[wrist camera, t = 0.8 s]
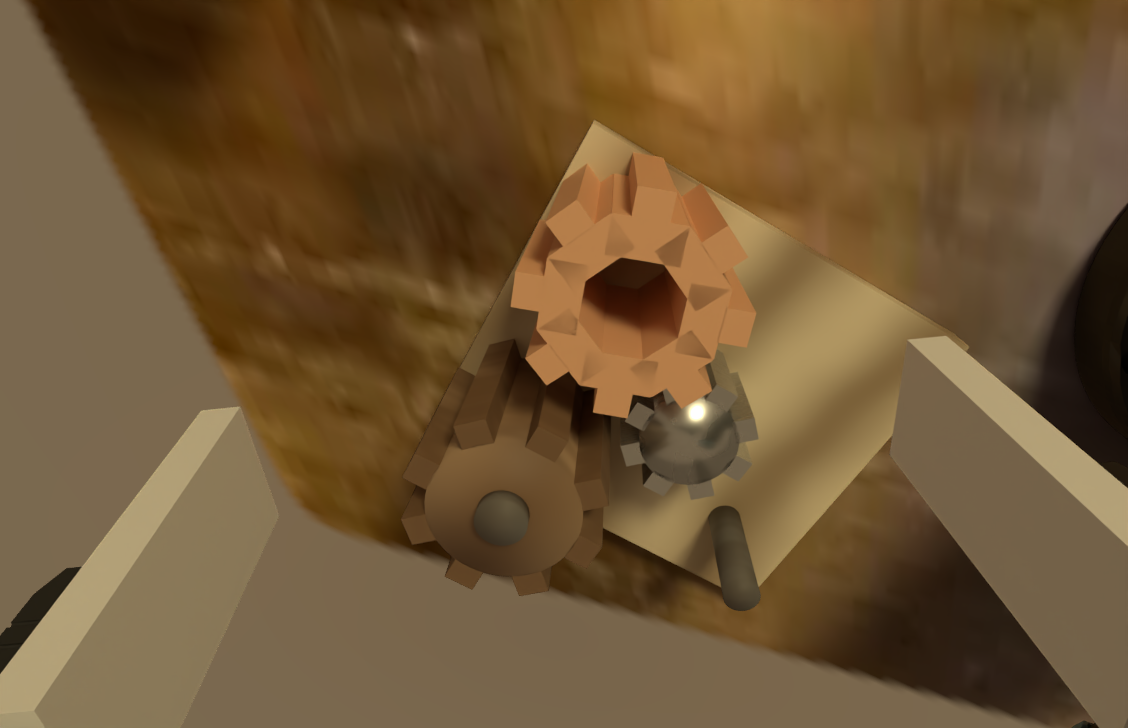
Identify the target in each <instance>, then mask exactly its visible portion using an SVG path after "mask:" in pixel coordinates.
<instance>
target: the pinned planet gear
mask: <svg viewBox="0 0 1128 728" xmlns="http://www.w3.org/2000/svg"><path fill="white" fill-rule="evenodd" d="M594 391H595V389H592V390H587V391H583V390H582V388H581V387H580V385H579V384H578V383H577V381H576V380H575V379H574V378H573V376H572V375H571V374H570V372H567V373H565V374H564V375H562V376H561V377H559V378H558V379H556V380H554V381H553V382H551V383H550V384H548V385H546V384H545V383H544V382H543V380H542V379H541V378H540V377H539V375H538V374H537V373H536V372H535V370H534V369H533V368H532V366H531V365H530V364H529V363H528V361H527V360H526V359H525V358H521V356H520V353H519V350H518V347H517V344H516V341H515V338H514V339H510V340H506V341H502V342H498V343H494V344H490V345H489V346H488V349H487V351H486V353H485V355H484V358H483V360H482V362H481V365H480V367H479V369H478V371H477V374H476V376H475V375H473V374H471V373H469V372H467V371H465V370H463V369H461V368H458V370H457V372H456V373H455V375H454V377H453V379H452V381H451V383H450V384H449V386H448V388H447V390H446V392H445V394H444V396H443V398H442V400H441V402H440V404H439V406H438V408H437V410H436V412H435V414H434V416H433V418H432V420H431V422H430V424H429V426H428V427H427V429H426V431H425V433H424V435H423V437H422V439H421V441H420V443H419V445H418V447H417V449H416V451H415V453H414V455H413V457H412V459H411V461H410V463H409V465H408V467H407V469H406V471H405V473H404V475H403V477H402V478H403V479H405V480H407V481H409V482H411V483H413V484H415V485H417V486H416V488H415V490H414V492H413V495H412V497H411V499H410V501H409V503H408V505H407V507H406V510H405V512H404V514H403V516H402V518H401V521H402V523H403V525H404V528H405V530H406V532H407V534H408V536H409V539H410V541H411V543H412V545H414V544H419V543H424V542H429V541H434V540H437V542H438V543H439V544H440V545H441V546H442V548H443V549H444V550H445V551H446V552H447V553H449V554H450V555H451V559H450V562H449V565H448V568H447V571H446V574H445V577H447V578H449V579H451V580H453V581H455V582H457V583H459V584H461V585H463V586H465V587H468V588H470V589H473V587H474V586H475V584H476V583H477V582H478V580H479V578H480V577H481V575H482V574H483V573H487V574H492V575H497V576H512V579H513V582H514V584H515V587H516V589H517V592H518V594H519V596H523V595H529V594H534V593H540V592H545V591H549V583H550V576H551V568H552V566H553V565H554V564H556V563H557V562H559V561H560V560H561V559H562V558H563V557H564V558H565V559H567V560H569V561H572V562H574V563H576V564H578V565H580V566H582V567H584V568H586V569H587V567H588V566H589V564H590V563H591V562H592V560H593V559H594V558H595V556H596V555H597V554H598V552H599V551H600V549H601V548H602V539H603V510H604V507H606V506H609V487H610V441H611V415H605V414H599V413H593V405H594Z"/></svg>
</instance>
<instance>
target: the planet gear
mask: <svg viewBox="0 0 1128 728" xmlns="http://www.w3.org/2000/svg"><path fill="white" fill-rule="evenodd" d="M621 257H623V258H628V259H634V260H640V261H646V262H651V263H657V264H663V265H665V271H664V272H663V273H661V274H660V275H658V276H657V277H655V278H654V279H652V280H651V281H649V282H648V283H646V284H645V285H643V286H641V287H640V288H638V289H634V288H628V287H622V286H616V285H611V284H606V283H605V282H604V280H603V279H602V277H601V276H600V275H599V273H598V272H600V271H601V270H603V269H604V268H606V267H607V266H609V265H610V264H612V263H613V262H615V261H616V260H618V259H619V258H621ZM747 258H748V256H747V254H746V253H745V251H744V249H743V248H742V246H741V245H740V243H739V241H738V240H737V238H736V237H735V235H734V233H733V232H732V230H731V229H730V227H729V225H728V224H727V222H726V221H725V219H724V218H723V216H722V214H721V213H720V211H719V210H718V208H717V206H716V205H715V203H714V202H713V200H712V199H711V197H710V195H709V194H708V192H707V191H706V189H705V188H704V186H703V185H702V183H701V184H699V185H698V186H696V187H695V188H693V189H692V190H690V191H689V192H687V193H686V194H684V195H683V196H681V195H680V193H679V192H678V190H677V189H676V187H675V186H674V183H673V181H672V178H671V176H670V173H669V171H668V169H667V166H666V164H665V161H664V159H663V157H657V156H651V155H646V154H640V153H634V152H633V155H632V160H631V165H630V171H629V176H626V175H620V174H614V175H613V174H612V175H610V176H609V177H607V178H606V179H605V180H603V181H602V182H600V181H599V179H598V178H597V177H596V175H595V174H594V172H593V171H592V169H591V168H590V166H589V165H588V163H587V164H585V165H584V166H583V167H581V168H580V169H579V170H577V171H576V172H575V173H573V174H572V175H570V176H569V177H568V178H566V179H565V180H564V181H563V182H562V185H561V187H560V189H559V192H558V194H557V196H556V198H555V201H554V203H553V205H552V208H551V210H550V212H549V215H548V217H547V219H546V221H545V220H539V222H538V224H537V227H536V229H535V231H534V233H533V235H532V237H531V239H530V241H529V244H528V246H527V248H526V250H525V252H524V254H523V256H522V258H521V261H520V263H519V265H518V267H517V269H516V271H515V278H514V285H513V293H512V300H511V307H514V308H520V309H526V310H532V311H537V312H539V314H538V318H537V321H536V325H535V328H534V331H533V335H532V338H531V341H530V344H529V348H528V351H527V354H526V357H525V359H526V360H527V361H528V363H529V364H530V365H531V366H532V368H533V369H534V370H535V372H536V373H537V374H538V375H539V377H540V378H541V379H542V380H543V382H544V383H545V384H546V385H548V384H550V383H551V382H553V381H554V380H556V379H558V378H559V377H561V376H562V375H564V374H565V373H567V372H570V374H571V375H572V376H573V378H574V379H575V380H576V381H577V383H578V384H579V385H581V386H587V387H592V388H595V391H594V405H593V413H599V414H605V415H611V416H616V417H622V418H628V414H629V409H630V405H631V400H632V396H633V395H639V396H644V397H653V396H655V395H656V394H658V393H660V392H661V391H663V390H665V389H666V388H667V390H668V391H669V392H670V394H671V395H672V396H673V398H674V399H675V401H676V402H677V403H678V405H679V406H680V407H681V409H682V408H684V407H686V406H687V405H689V404H691V403H692V402H694V401H696V400H698V399H699V398H701V397H703V396H704V395H706V394H708V393H710V392H711V391H712V388H711V384H710V381H709V377H708V373H707V370H706V366H705V365H706V364H708V363H710V362H711V361H713V359H714V357H715V354H716V350H717V346H718V343H722V344H728V345H734V346H740V347H746V348H747V345H748V341H749V338H750V334H751V331H752V327H753V324H754V320H755V317H756V311H755V309H754V307H753V306H752V304H751V302H750V300H749V298H748V296H747V294H746V292H745V290H744V288H743V287H742V285H741V283H740V281H739V279H738V277H737V275H736V273H735V271H734V269H733V267H734V266H736V265H737V264H739V263H740V262H742V261H743V260H745V259H747Z"/></svg>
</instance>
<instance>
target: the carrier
mask: <svg viewBox="0 0 1128 728" xmlns="http://www.w3.org/2000/svg"><path fill="white" fill-rule="evenodd" d="M633 152H634V153H640V154H646V155H651V156H654V155H653V154H651V153H649V152H648V151H646V150H644V149H643V148H641V147H639V146H638V145H636V144H634V143H632V142H631V141H629V140H627V139H626V138H624V137H622V136H621V135H619V134H617V133H616V132H614V131H612V130H611V129H609V128H607V127H606V126H604V125H602V124H600V123H599V122H597V121H595V120H594V121H593V123H592V125H591V126H590V128H589V130H588V132H587V134H586V136H585V137H584V139H583V141H582V143H581V145H580V147H579V148H578V150H577V152H576V154H575V156H574V158H573V160H572V161H571V163H570V165H569V167H568V169H567V171H566V172H565V174H564V176H563V178H562V180H561V182H560V183H559V185H558V187H557V189H556V191H555V193H554V194H553V196H552V198H551V200H550V202H549V204H548V206H547V207H546V209H545V211H544V213H543V215H542V217H541V218H540V220H545V221H546V219H547V217H548V215H549V212H550V210H551V208H552V205H553V203H554V201H555V198H556V196H557V194H558V192H559V189H560V187H561V185H562V182H563V181H564V180H565V179H566V178H568V177H569V176H570V175H572V174H573V173H575V172H576V171H577V170H579V169H580V168H581V167H583V166H584V165H585V164H587V163H588V165H589V166H590V168H591V169H592V171H593V172H594V174H595V175H596V177H597V178H598V179H599V181H600V182H602V181H603V180H605V179H606V178H607V177H609V176H610V175H612V174H613V175H614V174H620V175H626V176H629V171H630V165H631V160H632V155H633ZM665 164H666V166H667V169H668V171H669V173H670V176H671V178H672V181H673V183H674V186H675V187H676V189H677V190H678V192H679V193H680V195H681V196H683V195H684V194H686V193H687V192H689V191H690V190H692V189H693V188H695V187H696V186H698V185H699V184H701V183H700V182H698V181H696V180H695V179H693V178H691V177H690V176H688V175H686V174H685V173H683V172H681V171H680V170H678V169H676V168H675V167H673V166H671V165H669V164H668V163H666V162H665ZM702 185H703V184H702ZM703 186H704V188H705V189H706V191H707V192H708V194H709V195H710V197H711V199H712V200H713V202H714V203H715V205H716V206H717V208H718V210H719V211H720V213H721V214H722V216H723V218H724V219H725V221H726V222H727V224H728V225H729V227H730V229H731V230H732V232H733V233H734V235H735V237H736V238H737V240H738V241H739V243H740V245H741V246H742V248H743V249H744V251H745V253H746V254H747V256H748V258H747V259H745V260H743V261H742V262H740V263H739V264H737V265H736V266H734V267H733V269H734V271H735V273H736V275H737V277H738V279H739V281H740V283H741V285H742V287H743V288H744V290H745V292H746V294H747V296H748V298H749V300H750V302H751V304H752V306H753V307H754V309H755V311H756V317H755V320H754V324H753V327H752V331H751V334H750V338H749V341H748V345H747V348H746V347H740V346H734V345H728V344H722V343H718V346H717V350H719V351H721V352H723V354H724V357H725V360H726V363H727V366H728V369H729V371H730V373H733V372H738V374H739V377H740V380H741V383H742V385H743V388H744V391H745V393H746V396H747V399H748V402H749V404H750V407H751V410H752V412H753V415H754V418H755V423H756V427H757V432H758V437H759V439H758V440H753V441H748V442H746V445H747V448H748V451H749V454H750V458H751V461H752V465H751V466H750V468H749V469H748V470H747V471H746V473H745V474H744V475H743V477H742V478H741V479H740V480H739V482H738V481H736V480H734V479H732V478H730V477H729V476H727V475H725V474H723V473H722V474H720V475H719V476H717V477H716V478H714V479H712V480H711V481H712V486H713V490H714V495H715V496H710V497H705V498H700V499H695V500H691V499H690V495H689V491H688V487H687V485H684V484H676V483H673V484H672V486H671V487H670V488H669V490H668V491H667V492H666V494H665V495H664V496H662V495H660V494H658V493H656V492H654V491H652V490H650V489H648V488H646V487H644V486H643V476H642V464H637V465H632V466H627V467H626V463H625V460H624V457H623V453H622V450H621V446H620V417H616V416H611V441H610V487H609V506H606V507H604V510H603V528H604V529H606V530H608V531H610V532H612V533H614V534H616V535H618V536H620V537H622V538H624V539H626V540H628V541H630V542H632V543H634V544H636V545H638V546H640V547H642V548H644V549H646V550H648V551H650V552H652V553H654V554H656V555H658V556H660V557H662V558H664V559H666V560H668V561H670V562H672V563H674V564H676V565H678V566H680V567H682V568H684V569H686V570H688V571H690V572H692V573H694V574H696V575H697V576H699V577H701V578H703V579H705V580H707V581H709V582H711V583H713V584H715V585H717V586H719V587H721V589H722V594H723V599H724V602H725V604H726V605H727V606H728V607H729V608H731V609H733V610H737V611H745V610H749V609H751V608H753V607H755V606H756V605H757V604H758V602H759V601H760V591H759V586H760V585H761V584H762V583H763V582H764V580H765V579H766V578H767V577H768V576H769V575H770V574H771V572H772V571H773V570H774V569H775V568H776V567H777V566H778V564H779V563H780V562H781V561H782V560H783V559H784V558H785V557H786V555H787V554H788V553H789V552H790V551H791V550H792V549H793V547H794V546H795V545H796V544H797V543H798V542H799V541H800V539H801V538H802V537H803V536H804V535H805V534H806V533H807V531H808V530H809V529H810V528H811V527H812V526H813V525H814V524H815V522H816V521H817V520H818V519H819V518H820V517H821V516H822V514H823V513H824V512H825V511H826V510H827V509H828V508H829V506H830V505H831V504H832V503H833V502H834V501H835V500H836V498H837V497H838V496H839V495H840V494H841V493H842V492H843V491H844V489H845V488H846V487H847V486H848V485H849V484H850V483H851V481H852V480H853V479H854V478H855V477H856V476H857V475H858V473H859V472H860V471H861V470H862V469H863V468H864V467H865V465H866V464H867V463H868V462H869V461H870V460H871V459H872V458H873V456H874V455H875V454H876V453H877V452H878V451H879V450H880V448H881V447H882V446H883V445H884V444H885V443H886V442H887V440H888V439H889V438H890V437H891V436H892V435H893V429H894V423H895V416H896V410H897V403H898V397H899V390H900V384H901V377H902V371H903V364H904V358H905V351H906V345H907V340H909V339H919V338H929V337H939V336H947V337H948V338H950V339H951V340H952V341H953V342H954V343H955V344H957V345H958V346H959V347H960V348H961V349H963V350H964V351H965V352H966V351H967V349H968V348H969V346H968V345H967V344H966V343H964V342H963V341H962V340H961V339H960V338H958V337H957V336H956V335H955V334H954V333H952V332H950V331H949V330H947V329H945V328H944V327H942V326H940V325H939V324H937V323H935V322H934V321H932V320H930V319H929V318H927V317H925V316H924V315H922V314H920V313H918V312H917V311H915V310H913V309H912V308H910V307H908V306H907V305H905V304H903V303H902V302H900V301H898V300H897V299H895V298H893V297H892V296H890V295H888V294H887V293H885V292H883V291H881V290H880V289H878V288H876V287H875V286H873V285H871V284H870V283H868V282H866V281H865V280H863V279H861V278H860V277H858V276H856V275H855V274H853V273H851V272H850V271H848V270H846V269H844V268H843V267H841V266H839V265H838V264H836V263H834V262H833V261H831V260H829V259H828V258H826V257H824V256H823V255H821V254H819V253H818V252H816V251H814V250H812V249H811V248H809V247H807V246H806V245H804V244H802V243H801V242H799V241H797V240H796V239H794V238H792V237H791V236H789V235H787V234H786V233H784V232H782V231H781V230H779V229H777V228H775V227H774V226H772V225H770V224H769V223H767V222H765V221H764V220H762V219H760V218H759V217H757V216H755V215H754V214H752V213H750V212H749V211H747V210H745V209H744V208H742V207H740V206H738V205H737V204H735V203H733V202H732V201H730V200H728V199H727V198H725V197H723V196H722V195H720V194H718V193H717V192H715V191H713V190H712V189H710V188H708V187H706V186H705V185H703ZM536 227H537V226H536ZM535 229H536V228H535ZM535 229H534V231H535ZM534 231H533V233H534ZM533 233H532V235H533ZM532 235H531V237H532ZM531 237H530V239H531ZM530 239H529V241H530ZM529 241H528V242H527V244H526V246H525V248H524V250H523V252H522V253H521V255H520V257H519V259H518V261H517V263H516V264H515V266H514V268H513V270H512V272H511V274H510V275H509V277H508V279H507V281H506V283H505V285H504V287H503V288H502V290H501V292H500V294H499V296H498V298H497V299H496V301H495V303H494V305H493V307H492V309H491V310H490V312H489V314H488V316H487V318H486V320H485V322H484V323H483V325H482V327H481V329H480V331H479V333H478V334H477V336H476V338H475V340H474V342H473V344H472V345H471V347H470V349H469V351H468V353H467V355H466V356H465V358H464V360H463V362H462V364H461V366H460V368H461V369H463V370H465V371H467V372H469V373H471V374H473V375H475V376H476V374H477V371H478V369H479V367H480V365H481V362H482V360H483V358H484V355H485V353H486V351H487V349H488V346H489V345H490V344H494V343H498V342H502V341H506V340H510V339H514V338H515V341H516V344H517V347H518V350H519V353H520V356H521V358H525V357H526V354H527V351H528V348H529V344H530V341H531V338H532V335H533V331H534V328H535V325H536V321H537V318H538V314H539V312H537V311H532V310H526V309H520V308H514V307H511V300H512V293H513V285H514V278H515V271H516V269H517V267H518V265H519V263H520V261H521V258H522V256H523V254H524V252H525V250H526V248H527V246H528V244H529ZM664 271H665V265H663V264H657V263H651V262H646V261H640V260H634V259H628V258H623V257H621V258H619V259H618V260H616V261H615V262H613V263H612V264H610V265H609V266H607V267H606V268H604V269H603V270H601V271H600V272H598V273H599V275H600V276H601V277H602V279H603V280H604V282H605V283H606V284H611V285H616V286H622V287H628V288H634V289H638V288H640V287H641V286H643V285H645V284H646V283H648V282H649V281H651V280H652V279H654V278H655V277H657V276H658V275H660V274H661V273H663V272H664ZM580 387H581V388H582V390H583V391H587V390H592V389H595V388H592V387H587V386H581V385H580ZM433 416H434V415H433ZM432 418H433V417H432ZM431 420H432V419H431ZM430 422H431V421H430ZM429 424H430V423H429ZM428 426H429V425H428Z"/></svg>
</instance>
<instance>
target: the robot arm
mask: <svg viewBox="0 0 1128 728" xmlns="http://www.w3.org/2000/svg"><path fill="white" fill-rule="evenodd" d="M1074 338H1075V355H1076V362H1077V367H1078V371H1079V375H1080V378H1081V381H1082V384H1083V386H1084V388H1085V391H1086V393H1087V395H1088V397H1089V398H1090V400H1091V402H1092V403H1093V405H1094V406H1095V408H1096V409H1097V411H1098V412H1099V413H1100V414H1101V416H1102V417H1103V418H1104V419H1105V420H1106V421H1107V422H1108V423H1109V424H1110V425H1111V426H1112V427H1113V428H1114V429H1115V430H1117V431H1118V432H1119V433H1120V434H1122V435H1123V436H1124V437H1126V438H1127V439H1128V209H1127V210H1126V211H1125V212H1124V214H1123V215H1122V216H1121V218H1120V219H1119V220H1118V222H1117V223H1116V224H1115V226H1114V227H1113V229H1112V230H1111V232H1110V233H1109V235H1108V236H1107V238H1106V240H1105V241H1104V243H1103V245H1102V246H1101V248H1100V250H1099V252H1098V254H1097V256H1096V258H1095V260H1094V262H1093V264H1092V266H1091V268H1090V270H1089V273H1088V275H1087V278H1086V280H1085V283H1084V286H1083V289H1082V292H1081V296H1080V300H1079V304H1078V308H1077V315H1076V321H1075V334H1074ZM890 456H891V457H892V459H893V460H894V461H895V463H896V464H897V465H898V467H899V468H900V469H901V470H902V472H903V473H904V474H905V476H906V477H907V478H908V480H909V481H910V482H911V483H912V485H913V486H914V487H915V489H916V490H917V491H918V493H919V494H920V495H921V496H922V498H923V499H924V500H925V502H926V503H927V504H928V506H929V507H930V508H931V509H932V511H933V512H934V513H935V515H936V516H937V517H938V519H939V520H940V521H941V522H942V524H943V525H944V526H945V528H946V529H947V530H948V532H949V533H950V534H951V536H952V537H953V538H954V539H955V541H956V542H957V543H958V545H959V546H960V547H961V549H962V550H963V551H964V552H965V554H966V555H967V556H968V558H969V559H970V560H971V562H972V563H973V564H974V565H975V567H976V568H977V569H978V571H979V572H980V573H981V575H982V576H983V577H984V578H985V580H986V581H987V582H988V584H989V585H990V586H991V588H992V589H993V590H994V591H995V593H996V594H997V595H998V597H999V598H1000V599H1001V601H1002V602H1003V603H1004V604H1005V606H1006V607H1007V608H1008V610H1009V611H1010V612H1011V614H1012V615H1013V616H1014V617H1015V619H1016V620H1017V621H1018V623H1019V624H1020V625H1021V627H1022V628H1023V629H1024V631H1025V632H1026V633H1027V634H1028V636H1029V637H1030V638H1031V640H1032V641H1033V642H1034V644H1035V645H1036V646H1037V647H1038V649H1039V650H1040V651H1041V653H1042V654H1043V655H1044V657H1045V658H1046V659H1047V660H1048V662H1049V663H1050V664H1051V666H1052V667H1053V668H1054V670H1055V671H1056V672H1057V673H1058V675H1059V676H1060V677H1061V679H1062V680H1063V681H1064V683H1065V684H1066V685H1067V686H1068V688H1069V689H1070V690H1071V692H1072V693H1073V694H1074V696H1075V697H1076V698H1077V699H1078V701H1079V702H1080V703H1081V705H1082V706H1083V707H1084V709H1085V710H1086V711H1087V712H1088V714H1089V715H1090V716H1091V718H1092V719H1093V720H1094V722H1095V723H1094V724H1092V723H1089V722H1086V721H1082V722H1081V723H1079V724H1076V725H1075V726H1073V727H1072V728H1128V468H1127V467H1125V466H1123V465H1121V464H1119V463H1117V462H1105V463H1097V462H1096V461H1095V460H1093V459H1092V458H1091V457H1090V456H1089V455H1088V454H1086V453H1085V452H1084V451H1083V450H1082V449H1080V448H1079V447H1078V446H1077V445H1076V444H1074V443H1073V442H1072V441H1071V440H1070V439H1068V438H1067V437H1066V436H1065V435H1064V434H1063V433H1061V432H1060V431H1059V430H1058V429H1057V428H1055V427H1054V426H1053V425H1052V424H1051V423H1049V422H1048V421H1047V420H1046V419H1045V418H1044V417H1042V416H1041V415H1040V414H1039V413H1038V412H1036V411H1035V410H1034V409H1033V408H1032V407H1030V406H1029V405H1028V404H1027V403H1026V402H1024V401H1023V400H1022V399H1021V398H1020V397H1019V396H1017V395H1016V394H1015V393H1014V392H1013V391H1011V390H1010V389H1009V388H1008V387H1007V386H1005V385H1004V384H1003V383H1002V382H1001V381H999V380H998V379H997V378H996V377H995V376H994V375H992V374H991V373H990V372H989V371H988V370H986V369H985V368H984V367H983V366H982V365H980V364H979V363H978V362H977V361H976V360H975V359H973V358H972V357H971V356H970V355H969V354H967V353H966V352H965V351H964V350H963V349H961V348H960V347H959V346H958V345H957V344H955V343H954V342H953V341H952V340H951V339H950V338H948V337H947V336H939V337H929V338H919V339H909V340H907V345H906V351H905V358H904V364H903V371H902V377H901V384H900V390H899V397H898V403H897V410H896V416H895V423H894V429H893V436H892V442H891V449H890ZM278 518H279V514H278V511H277V508H276V506H275V502H274V500H273V497H272V494H271V491H270V488H269V486H268V483H267V480H266V477H265V475H264V472H263V469H262V466H261V463H260V460H259V458H258V455H257V452H256V449H255V446H254V444H253V441H252V438H251V435H250V432H249V430H248V427H247V424H246V421H245V418H244V416H243V413H242V410H241V407H232V408H223V409H212V410H204V411H203V410H202V411H201V412H200V413H199V415H198V416H197V417H196V419H195V420H194V421H193V422H192V424H191V425H190V426H189V428H188V429H187V430H186V432H185V433H184V434H183V436H182V437H181V438H180V439H179V441H178V442H177V444H176V445H175V446H174V447H173V449H172V450H171V451H170V452H169V454H168V455H167V456H166V458H165V459H164V460H163V462H162V463H161V464H160V466H159V467H158V468H157V470H156V471H155V472H154V474H153V475H152V476H151V478H150V479H149V480H148V481H147V483H146V484H145V486H144V487H143V488H142V489H141V491H140V492H139V493H138V494H137V496H136V497H135V498H134V500H133V501H132V502H131V504H130V505H129V506H128V507H127V509H126V510H125V511H124V513H123V514H122V515H121V517H120V518H119V519H118V521H117V522H116V523H115V525H114V526H113V527H112V528H111V530H110V531H109V532H108V534H107V535H106V536H105V538H104V539H103V540H102V542H101V543H100V544H99V545H98V547H97V548H96V549H95V551H94V552H93V553H92V555H91V556H90V557H89V559H88V560H87V561H86V562H85V564H84V565H83V566H82V567H75V568H66V569H65V570H64V571H63V572H61V573H60V574H59V575H57V576H56V577H55V578H54V579H52V580H51V581H50V582H49V583H47V584H46V585H45V586H43V587H42V588H41V589H40V590H38V591H37V592H36V593H35V594H34V595H33V596H32V597H31V598H30V600H29V601H28V602H27V603H26V604H25V606H24V607H23V608H22V609H21V611H20V612H19V613H18V614H17V616H16V617H15V618H14V619H13V621H12V622H11V623H12V625H11V627H10V628H6V629H5V631H4V632H3V633H2V634H1V636H0V728H181V726H182V724H183V721H184V719H185V717H186V715H187V713H188V711H189V709H190V706H191V704H192V702H193V700H194V698H195V696H196V693H197V691H198V689H199V687H200V685H201V683H202V681H203V679H204V676H205V674H206V672H207V670H208V668H209V666H210V664H211V661H212V659H213V657H214V655H215V653H216V650H217V649H218V646H219V644H220V642H221V640H222V638H223V635H224V634H225V631H226V629H227V627H228V625H229V623H230V621H231V619H232V616H233V614H234V612H235V610H236V608H237V606H238V604H239V601H240V599H241V597H242V595H243V593H244V590H245V588H246V586H247V584H248V582H249V580H250V578H251V576H252V573H253V571H254V569H255V567H256V565H257V563H258V561H259V558H260V556H261V554H262V552H263V550H264V548H265V545H266V543H267V541H268V539H269V537H270V535H271V533H272V530H273V528H274V526H275V524H276V522H277V520H278Z"/></svg>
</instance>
